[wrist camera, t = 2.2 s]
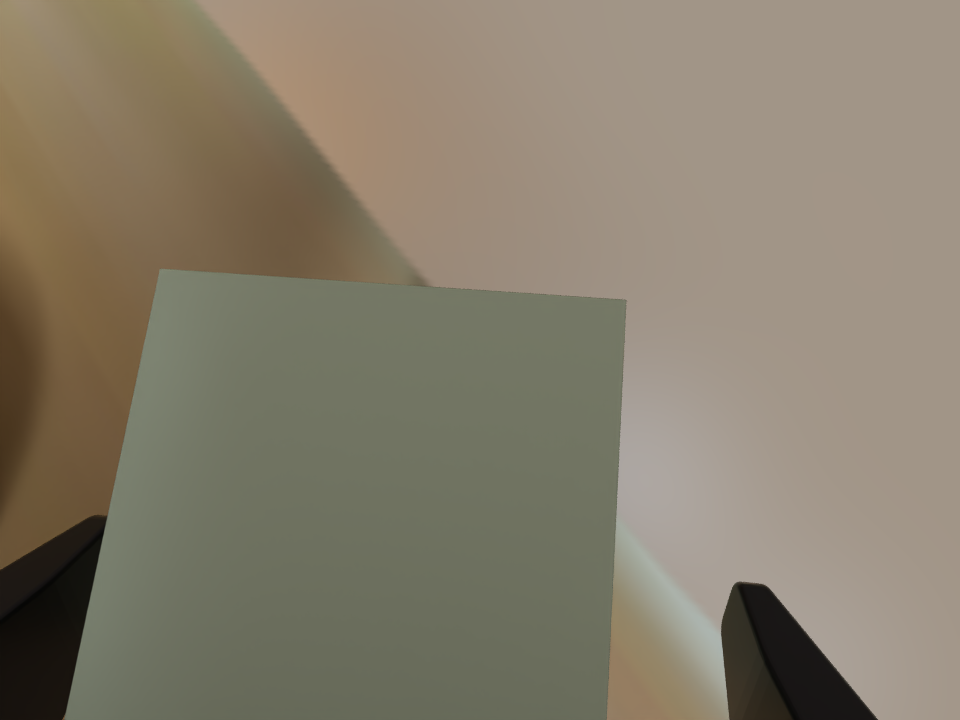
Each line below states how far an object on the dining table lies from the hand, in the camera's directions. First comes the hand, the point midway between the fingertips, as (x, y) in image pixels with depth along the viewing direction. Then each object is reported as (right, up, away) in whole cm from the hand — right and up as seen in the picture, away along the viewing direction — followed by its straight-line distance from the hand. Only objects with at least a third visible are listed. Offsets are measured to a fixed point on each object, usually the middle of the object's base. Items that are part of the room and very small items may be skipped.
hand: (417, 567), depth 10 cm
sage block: (0, -1, +8) cm, 8 cm away
